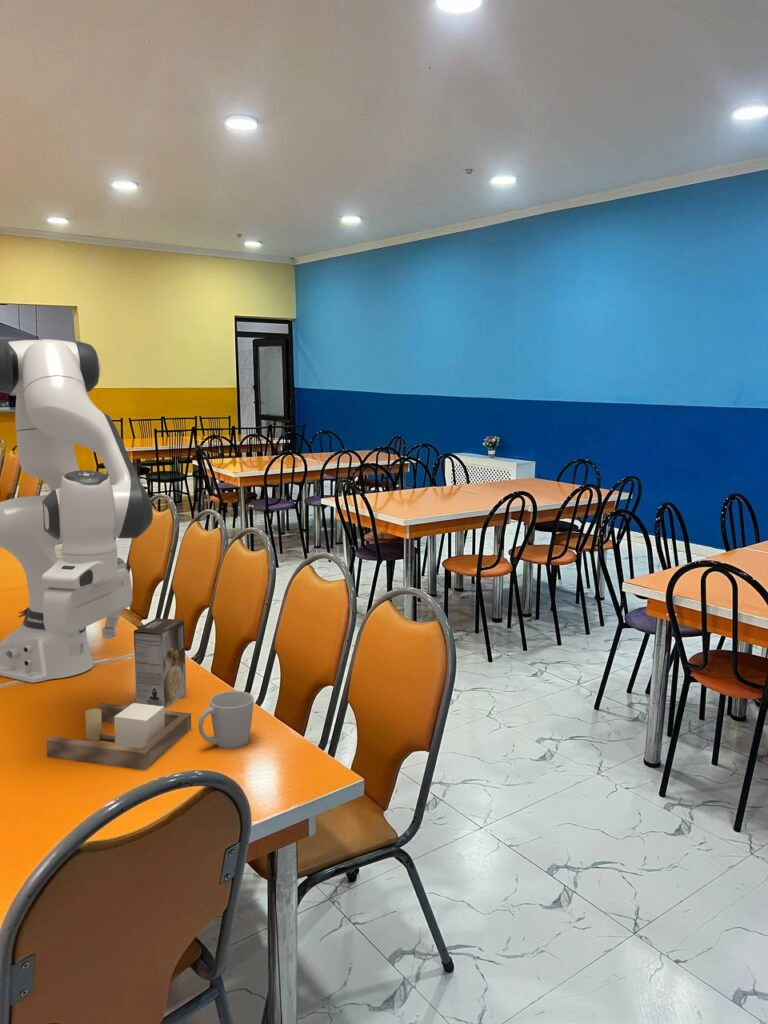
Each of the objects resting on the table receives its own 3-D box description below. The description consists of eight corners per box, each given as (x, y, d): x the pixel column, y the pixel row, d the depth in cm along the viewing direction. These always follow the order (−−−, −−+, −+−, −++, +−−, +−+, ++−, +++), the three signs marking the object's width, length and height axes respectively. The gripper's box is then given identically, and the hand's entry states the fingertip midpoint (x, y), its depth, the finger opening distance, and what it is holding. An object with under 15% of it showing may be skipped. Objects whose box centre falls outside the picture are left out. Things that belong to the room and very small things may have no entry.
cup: (262, 746, 130) (262, 700, 129) (210, 763, 124) (209, 715, 123) (240, 731, 136) (240, 687, 135) (189, 746, 130) (189, 700, 128)
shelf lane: (47, 760, 124) (46, 740, 123) (103, 721, 139) (102, 702, 139) (145, 774, 120) (144, 753, 119) (191, 732, 135) (191, 713, 135)
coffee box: (158, 691, 154) (156, 616, 151) (187, 694, 152) (185, 619, 150) (135, 709, 145) (132, 630, 142) (165, 712, 144) (163, 632, 141)
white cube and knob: (77, 744, 128) (75, 712, 127) (97, 730, 134) (96, 698, 133) (147, 754, 125) (146, 720, 124) (165, 738, 131) (164, 706, 130)
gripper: (109, 554, 137) (111, 627, 139) (33, 578, 117) (38, 663, 119) (140, 556, 135) (142, 629, 137) (69, 581, 115) (73, 666, 117)
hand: (93, 645), depth 128 cm, fingers open, 8 cm apart
